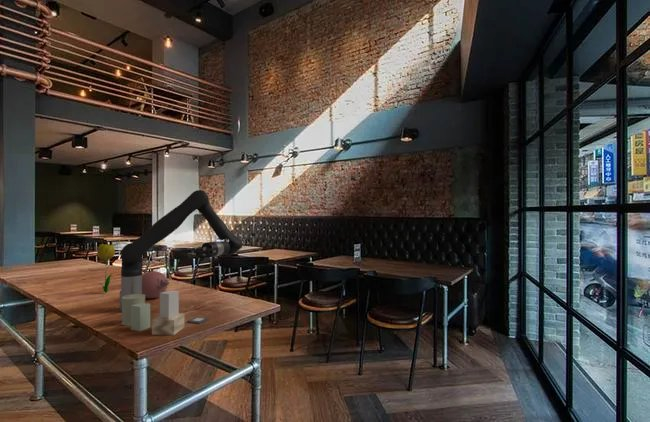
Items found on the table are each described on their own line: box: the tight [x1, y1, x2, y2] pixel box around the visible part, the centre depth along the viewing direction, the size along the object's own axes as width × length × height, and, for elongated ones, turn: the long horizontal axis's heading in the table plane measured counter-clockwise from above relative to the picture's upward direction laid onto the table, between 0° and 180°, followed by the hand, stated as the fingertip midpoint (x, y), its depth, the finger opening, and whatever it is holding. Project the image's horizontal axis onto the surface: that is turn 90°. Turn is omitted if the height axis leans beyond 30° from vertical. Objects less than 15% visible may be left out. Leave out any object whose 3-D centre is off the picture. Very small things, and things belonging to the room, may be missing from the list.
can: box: [120, 294, 146, 327], centre depth 147 cm, size 9×9×12 cm
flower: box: [96, 243, 116, 294], centre depth 201 cm, size 9×8×30 cm
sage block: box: [130, 302, 151, 332], centre depth 139 cm, size 5×5×10 cm
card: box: [186, 316, 210, 325], centre depth 149 cm, size 7×6×1 cm
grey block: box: [159, 290, 180, 319], centre depth 137 cm, size 5×5×10 cm
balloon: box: [142, 270, 170, 299], centre depth 189 cm, size 15×20×15 cm
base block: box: [151, 313, 185, 336], centre depth 137 cm, size 9×9×6 cm
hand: (188, 252), depth 151 cm, fingers open, 8 cm apart
